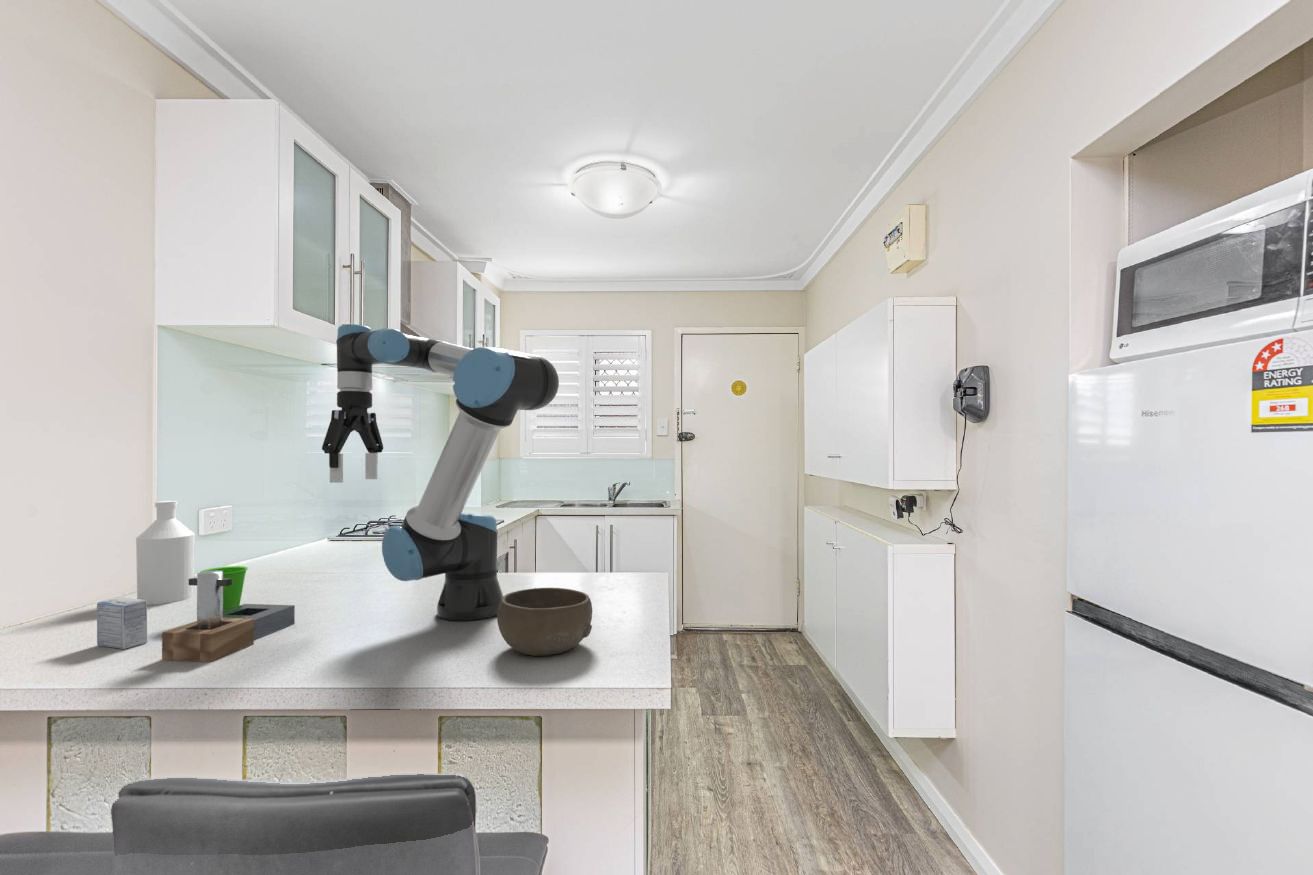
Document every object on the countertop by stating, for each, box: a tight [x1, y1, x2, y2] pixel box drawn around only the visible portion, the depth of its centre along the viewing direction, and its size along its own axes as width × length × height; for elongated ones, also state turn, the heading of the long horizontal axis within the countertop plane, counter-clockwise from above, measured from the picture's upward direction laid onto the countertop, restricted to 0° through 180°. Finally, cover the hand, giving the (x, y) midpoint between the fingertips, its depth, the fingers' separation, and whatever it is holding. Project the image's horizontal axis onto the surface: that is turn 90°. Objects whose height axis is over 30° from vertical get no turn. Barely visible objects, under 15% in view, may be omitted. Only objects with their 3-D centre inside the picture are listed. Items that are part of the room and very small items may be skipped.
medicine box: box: [96, 596, 148, 650], centre depth 122 cm, size 8×4×9 cm, turn 71°
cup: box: [200, 565, 249, 611], centre depth 141 cm, size 9×9×11 cm
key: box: [189, 570, 232, 630], centre depth 118 cm, size 4×8×15 cm, turn 83°
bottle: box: [135, 500, 196, 606], centre depth 159 cm, size 12×12×25 cm
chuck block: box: [223, 603, 296, 641], centre depth 131 cm, size 12×12×4 cm
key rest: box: [161, 618, 255, 663], centre depth 118 cm, size 10×10×5 cm
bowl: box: [496, 587, 593, 657], centre depth 119 cm, size 17×18×10 cm
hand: (354, 480), depth 147 cm, fingers open, 13 cm apart
